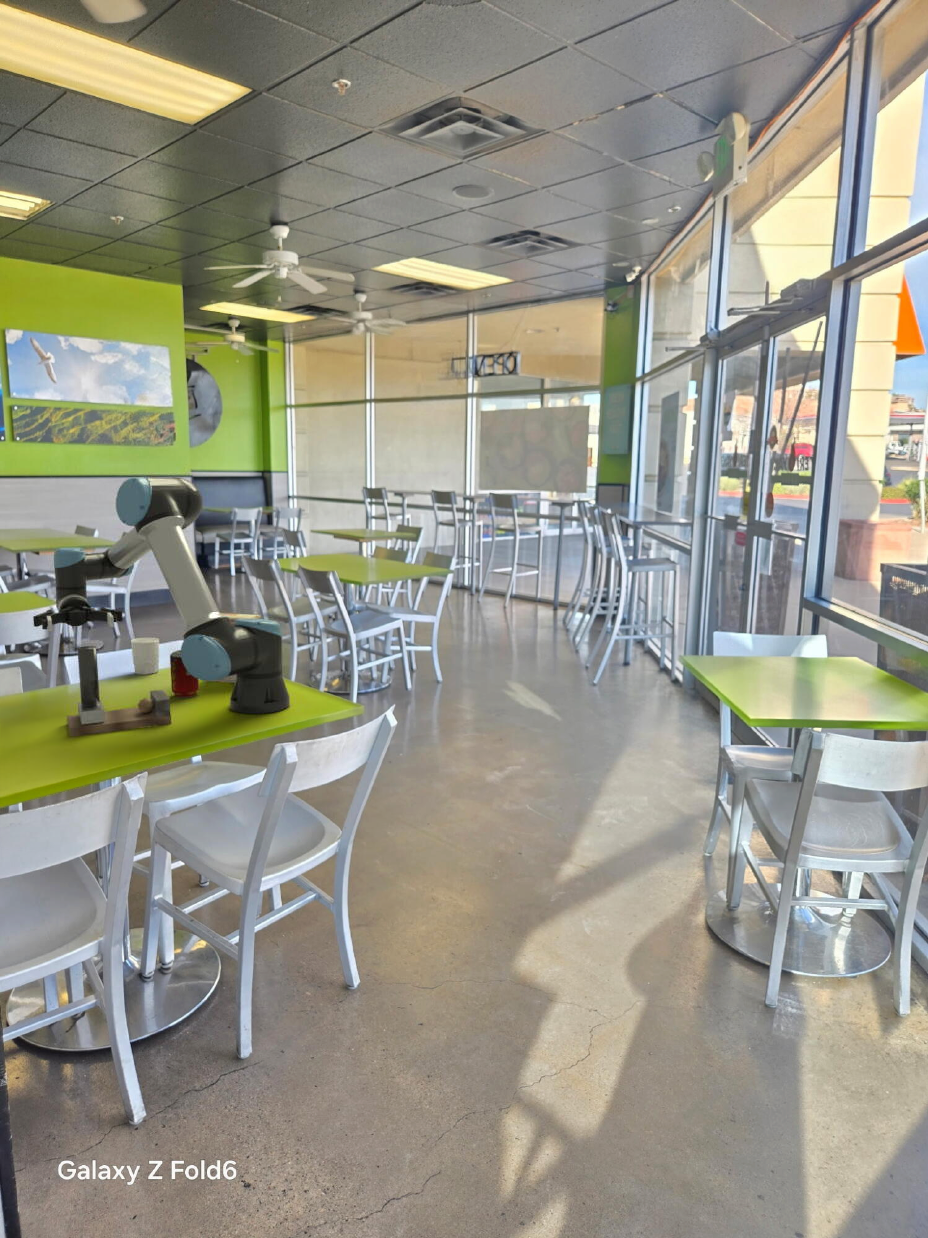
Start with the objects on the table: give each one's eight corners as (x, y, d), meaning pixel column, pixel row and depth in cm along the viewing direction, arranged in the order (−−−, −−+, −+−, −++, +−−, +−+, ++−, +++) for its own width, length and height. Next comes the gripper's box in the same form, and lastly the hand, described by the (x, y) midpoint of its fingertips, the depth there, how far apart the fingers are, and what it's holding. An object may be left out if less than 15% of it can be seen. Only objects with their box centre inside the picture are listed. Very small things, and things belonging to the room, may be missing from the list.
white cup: (150, 676, 239) (149, 643, 237) (127, 674, 240) (125, 641, 239) (165, 670, 246) (164, 638, 245) (142, 668, 248) (141, 636, 246)
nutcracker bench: (163, 712, 203) (162, 689, 202) (171, 723, 193) (170, 699, 192) (67, 723, 192) (65, 699, 191) (70, 736, 183) (68, 711, 182)
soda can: (204, 693, 221) (202, 650, 218) (187, 700, 214) (185, 655, 212) (184, 690, 223) (181, 647, 221) (166, 697, 217) (163, 652, 214)
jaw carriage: (101, 711, 194) (96, 643, 191) (105, 721, 187) (100, 650, 184) (78, 714, 192) (73, 645, 189) (81, 724, 184) (76, 652, 181)
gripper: (126, 621, 219) (137, 635, 201) (22, 627, 207) (24, 643, 189) (124, 593, 218) (135, 605, 200) (20, 599, 205) (22, 612, 187)
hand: (81, 624), depth 194 cm, fingers open, 13 cm apart
